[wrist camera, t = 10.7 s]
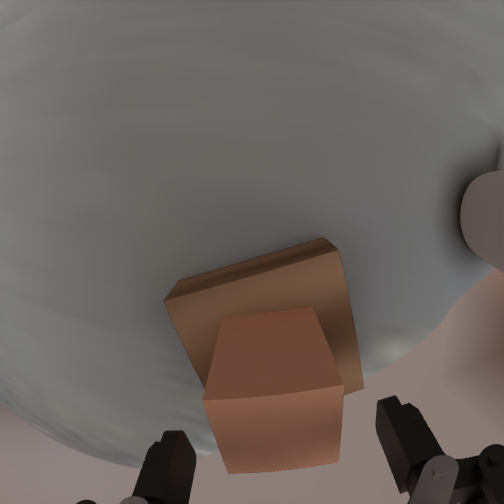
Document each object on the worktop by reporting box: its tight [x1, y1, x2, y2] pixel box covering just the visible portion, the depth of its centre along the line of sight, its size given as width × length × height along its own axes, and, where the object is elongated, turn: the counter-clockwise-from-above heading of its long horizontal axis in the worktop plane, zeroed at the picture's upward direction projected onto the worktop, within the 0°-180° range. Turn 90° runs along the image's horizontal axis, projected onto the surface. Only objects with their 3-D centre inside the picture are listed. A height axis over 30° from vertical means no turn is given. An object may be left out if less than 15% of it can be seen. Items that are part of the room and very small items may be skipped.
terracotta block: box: [202, 306, 344, 474], centre depth 13 cm, size 5×5×7 cm
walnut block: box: [164, 238, 364, 395], centre depth 19 cm, size 10×10×4 cm
